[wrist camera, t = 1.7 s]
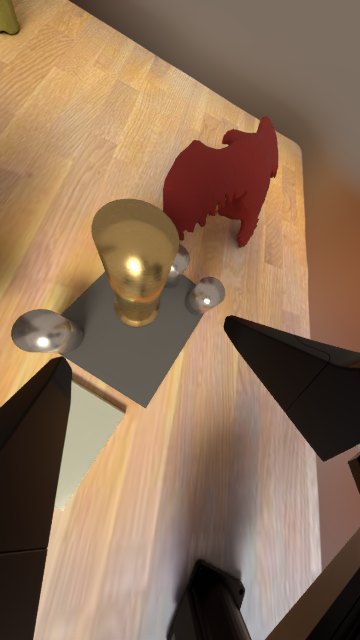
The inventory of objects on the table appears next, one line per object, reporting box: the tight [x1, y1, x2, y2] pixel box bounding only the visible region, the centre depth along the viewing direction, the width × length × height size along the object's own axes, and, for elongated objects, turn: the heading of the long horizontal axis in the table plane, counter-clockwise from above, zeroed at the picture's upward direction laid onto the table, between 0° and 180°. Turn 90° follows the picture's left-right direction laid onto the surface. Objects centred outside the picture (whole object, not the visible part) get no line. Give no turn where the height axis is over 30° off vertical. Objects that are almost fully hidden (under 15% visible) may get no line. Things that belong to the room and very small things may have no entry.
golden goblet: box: [92, 199, 179, 328], centre depth 14 cm, size 6×6×13 cm
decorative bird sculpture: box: [163, 116, 278, 247], centre depth 24 cm, size 28×9×15 cm
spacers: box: [11, 244, 225, 353], centre depth 18 cm, size 14×18×5 cm
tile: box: [54, 380, 126, 511], centre depth 15 cm, size 9×9×1 cm
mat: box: [59, 272, 204, 408], centre depth 20 cm, size 14×18×1 cm
